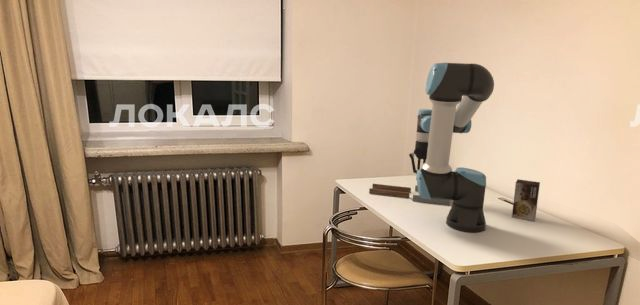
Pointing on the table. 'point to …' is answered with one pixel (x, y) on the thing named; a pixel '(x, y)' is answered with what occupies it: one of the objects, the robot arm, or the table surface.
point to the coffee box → (525, 199)
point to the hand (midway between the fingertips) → (419, 186)
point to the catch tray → (433, 201)
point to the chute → (390, 190)
